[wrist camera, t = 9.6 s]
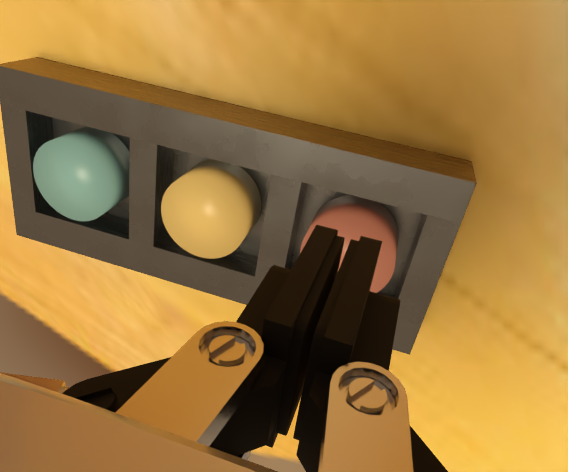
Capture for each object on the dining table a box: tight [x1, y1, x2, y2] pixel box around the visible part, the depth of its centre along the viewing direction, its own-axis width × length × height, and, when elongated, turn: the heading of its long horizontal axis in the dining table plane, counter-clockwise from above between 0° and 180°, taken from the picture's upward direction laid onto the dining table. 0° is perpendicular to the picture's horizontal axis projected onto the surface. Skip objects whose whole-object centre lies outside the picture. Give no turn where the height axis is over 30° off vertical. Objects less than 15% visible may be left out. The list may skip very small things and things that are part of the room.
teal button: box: [33, 127, 130, 221], centre depth 27 cm, size 5×5×3 cm
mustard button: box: [161, 159, 261, 259], centre depth 26 cm, size 5×5×3 cm
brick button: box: [300, 195, 398, 293], centre depth 25 cm, size 5×5×3 cm
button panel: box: [0, 57, 476, 354], centre depth 27 cm, size 24×10×3 cm, turn 81°
